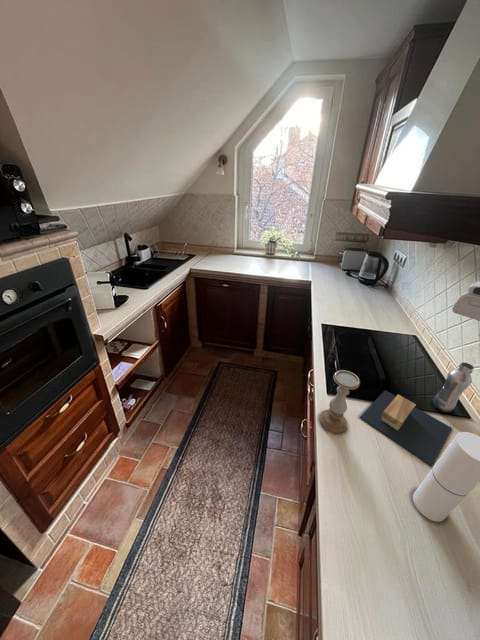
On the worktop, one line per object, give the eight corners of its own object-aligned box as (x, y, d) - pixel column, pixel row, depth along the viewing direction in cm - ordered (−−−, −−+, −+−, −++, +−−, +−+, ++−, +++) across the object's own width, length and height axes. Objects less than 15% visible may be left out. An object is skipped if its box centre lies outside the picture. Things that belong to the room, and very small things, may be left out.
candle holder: (346, 416, 89) (362, 372, 79) (346, 437, 82) (363, 392, 72) (321, 408, 92) (332, 365, 81) (318, 428, 85) (330, 383, 74)
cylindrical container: (406, 496, 67) (448, 437, 55) (425, 486, 70) (469, 427, 57) (432, 526, 62) (485, 469, 49) (452, 514, 64) (507, 457, 51)
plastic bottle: (456, 411, 92) (484, 369, 82) (443, 416, 90) (471, 374, 79) (438, 398, 97) (463, 357, 87) (426, 403, 95) (450, 362, 85)
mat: (450, 428, 86) (451, 427, 85) (431, 466, 74) (431, 465, 74) (384, 390, 100) (385, 389, 100) (359, 417, 89) (360, 416, 88)
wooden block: (416, 404, 88) (398, 394, 92) (402, 423, 81) (383, 411, 85) (411, 413, 90) (393, 402, 94) (397, 432, 84) (379, 420, 87)
